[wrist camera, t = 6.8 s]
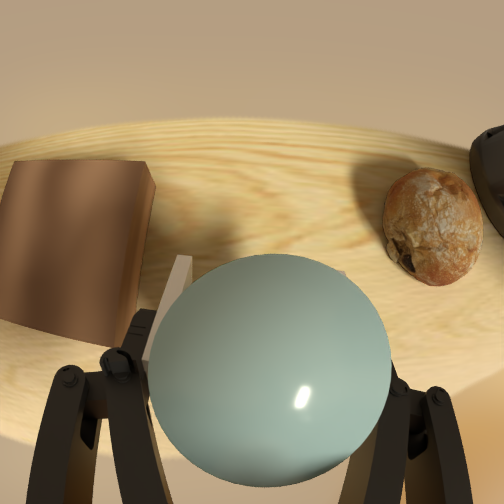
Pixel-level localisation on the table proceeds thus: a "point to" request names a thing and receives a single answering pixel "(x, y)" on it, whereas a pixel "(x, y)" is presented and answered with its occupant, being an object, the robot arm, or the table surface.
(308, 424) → the dome-topped cylinder
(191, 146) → the table surface
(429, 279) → the bread roll
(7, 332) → the table surface
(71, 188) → the pedestal
